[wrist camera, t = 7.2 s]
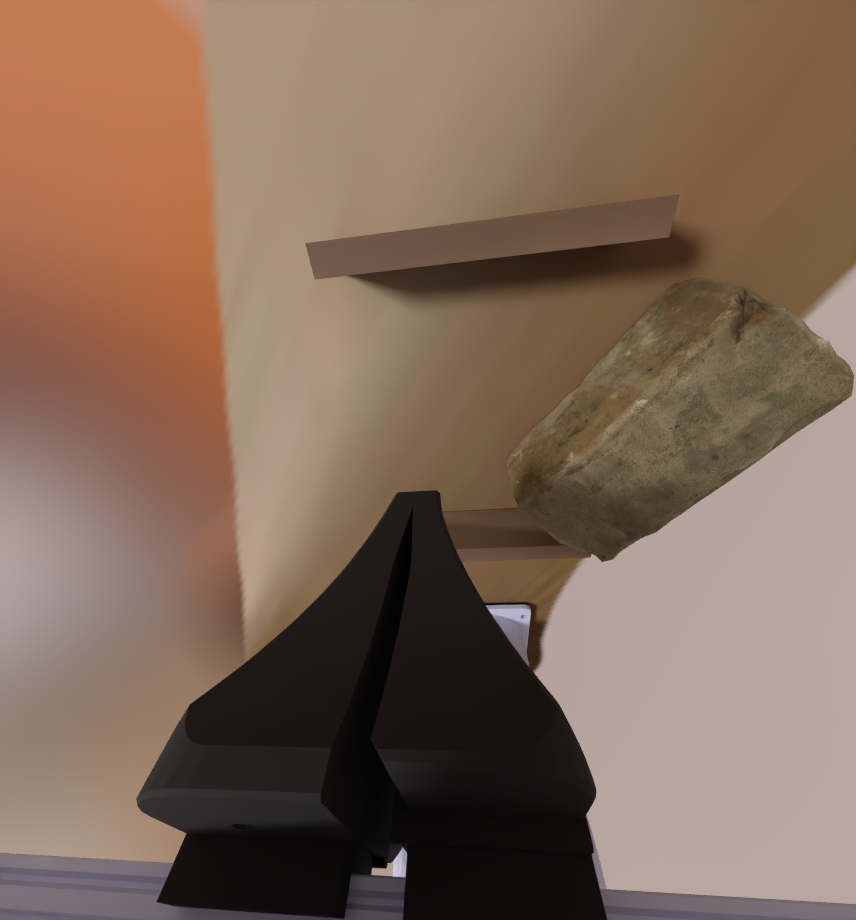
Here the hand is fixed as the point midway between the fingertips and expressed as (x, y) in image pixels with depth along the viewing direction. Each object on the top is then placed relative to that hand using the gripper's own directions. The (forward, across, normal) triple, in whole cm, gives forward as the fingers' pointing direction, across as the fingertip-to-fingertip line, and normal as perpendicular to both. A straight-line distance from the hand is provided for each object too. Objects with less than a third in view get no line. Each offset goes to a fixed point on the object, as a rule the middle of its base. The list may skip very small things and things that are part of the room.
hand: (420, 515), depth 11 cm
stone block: (+8, -9, 0) cm, 12 cm away
